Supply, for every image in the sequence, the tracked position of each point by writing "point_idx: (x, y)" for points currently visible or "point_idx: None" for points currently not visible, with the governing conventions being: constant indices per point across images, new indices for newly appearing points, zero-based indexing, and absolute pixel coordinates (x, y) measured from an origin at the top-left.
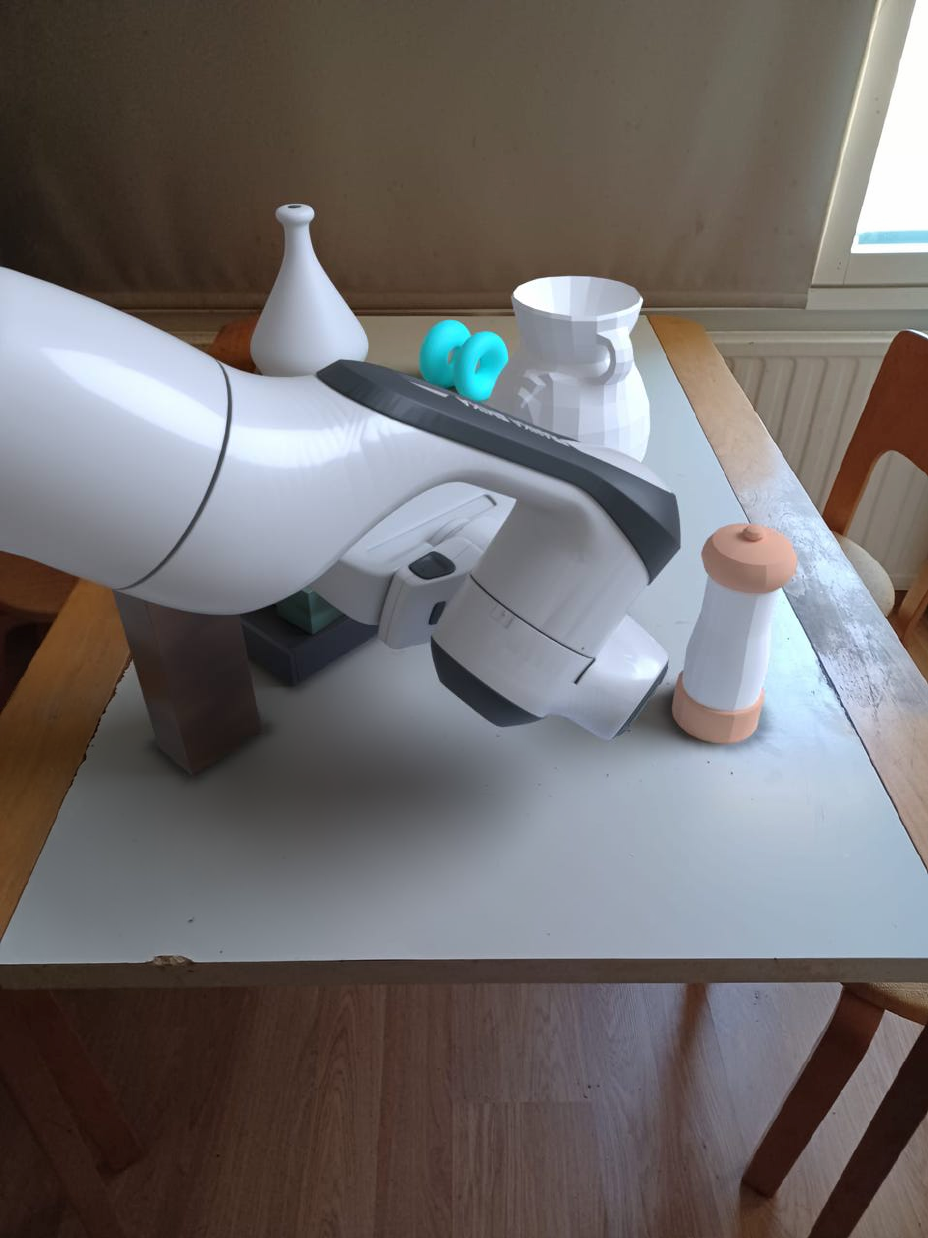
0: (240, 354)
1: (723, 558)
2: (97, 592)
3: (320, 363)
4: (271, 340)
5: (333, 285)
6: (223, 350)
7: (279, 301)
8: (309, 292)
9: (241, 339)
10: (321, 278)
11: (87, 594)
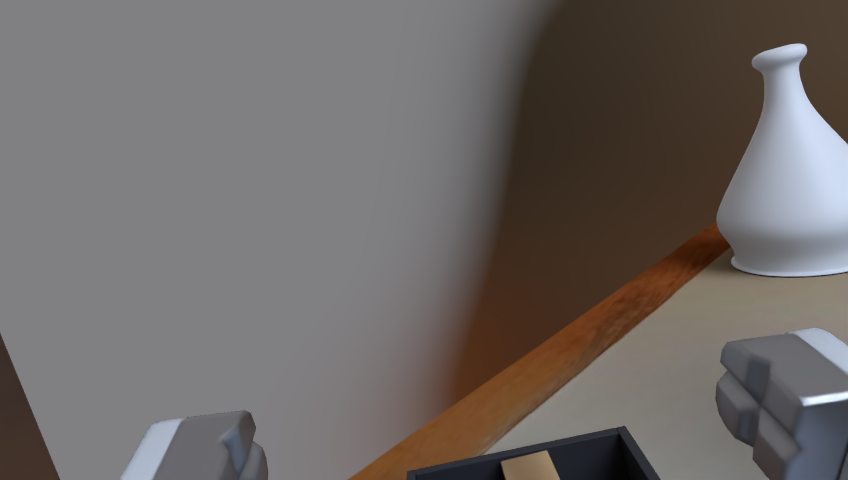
0: None
1: None
2: (378, 470)
3: (805, 225)
4: (737, 202)
5: (836, 133)
6: (706, 230)
7: (752, 157)
8: (794, 141)
9: None
10: (815, 124)
11: (368, 469)
